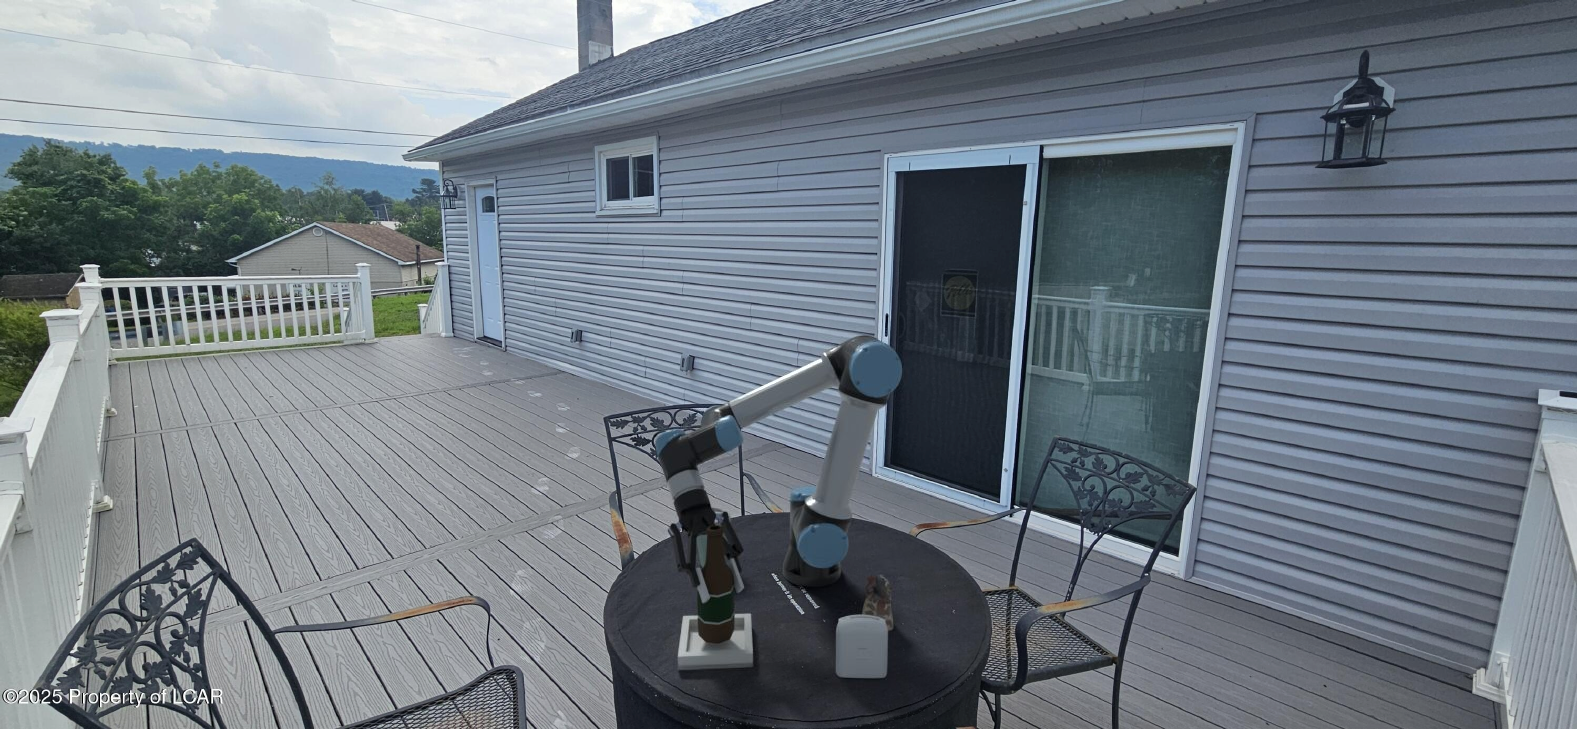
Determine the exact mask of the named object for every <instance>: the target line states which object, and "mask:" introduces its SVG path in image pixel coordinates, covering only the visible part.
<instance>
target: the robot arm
mask: <svg viewBox="0 0 1577 729" xmlns="http://www.w3.org/2000/svg"><path fill="white" fill-rule="evenodd" d="M902 376H903V367H902V361H901V359H900V357H899V355H898V354H897V352H896V351H895V350H894V348H892V346H890V345H889V344H888V343H886V342H884V341H882V340H880V339H879V338H877V337H874V336H872V335H866V334H864V335H856V336H854V337H851V338H849V339H847V340H845V341H843V342H841V343H839V344H837V345H835V346H834V347H831V348H830V349H827V350H825V351H823V352H822V354H821V357H820V358H818V359H816V360H814V361H812V362H810V363H808V364H805V365H804V366H801V367H800V368H797V369H795V370H793V371H791V372H788V373H787V374H785V375H783V376H781V377H778V378H776V379H774V380H772V381H770V382H768V383H766V384H764V385H762V386H759V387H757V388H755V389H753V390H750V391H749V392H747V393H745V394H742V395H740V396H738V397H736V398H734V399H732V400H729V401H728V402H726V403H723V404H721V405H712V406H710V407H709V408H707V409H706V410H705V411H704V413H703V414H702V416H701V420H700V428H697V429H695V430H694V431H691V432H689V433H686V432H685V431H684V430H683V429H680V428H673V429H672V430H666V431H663V432H662V433H661V434H659V435H658V436H657V438H656V439H655V442H654V446H655V450H656V453H657V459H658V462H659V464H660V467H661V469H662V472H663V474H664V475H663V476H664V478H665V481H666V484H667V488H668V491H669V494H670V496H671V500H673V505H674V509H675V511H676V515H677V517H678V522H676V523H671V524H670V525H669V527H668V528H667V532H668V535H669V536H670V538H671V542H672V545H673V552H674V556H675V562H676V568H677V571H678V572H679V573H685V574H686V575H688V577H689V579H690V582H691V585H692V587H693V588H696V589H697V588H698V591H699V594H700V597H701V600H702V603H706V602H707V601H708V600H709V598H710V596H709V593H708V590H707V587H706V584H705V581H704V578H703V575H702V572H701V570H702V569H701V567H697V566H696V565H697V537H698V536H700V535H707V534H706V530H707V528H708V527H709V526H712V525H715V524H714V522H715V519H716V520H717V521H718V523H719V524H720V525H721V527H723V529H724V534H725V536H726V538H727V540H728V542H727V540H726V539H725V538H724V537H723V545H724V555H725V556H726V560H728V561H726V564H727V565H728V567H729V568H730V569H731V571H732V574H733V577H734V590H735V591H736V594H738V593H741V592H742V590H744V589H745V586H744V583H743V580H742V577H741V573H742V572H743V571H742V567H741V564H740V561H739V557H740V556H741V555H742V554H743V553H744V551H745V550H744V548H743V545H742V543H741V541H740V540H739V539H740V538H739V537H738V535H737V532H736V531H735V530H734V528H733V526H732V523H731V524H730V522H729V516H728V513H729V511H728V512H726V511H727V510H726V511H724V512H723V513H715V512H714V511H713V510H712V508H711V506H712V504H711V502H710V501H711V500H710V498H709V495H708V492H707V491H706V490H705V485H704V482H703V479H702V476H701V474H700V470H699V469H698V468H699V467H698V466H699V465H701V464H704V463H706V462H709V461H711V460H713V459H715V458H717V457H720V456H721V455H725V454H726V453H728V452H732V451H734V450H735V449H736V448H738V447H740V446H742V444H743V443H744V440H745V439H744V436H743V432H742V430H743V429H745V428H747V427H750V426H751V425H754V424H756V423H758V422H760V421H762V420H765V419H767V418H769V417H771V416H772V415H775V414H777V413H779V412H781V411H784V410H785V409H788V408H790V407H791V406H794V405H797V404H798V403H801V402H802V401H805V400H807V399H809V398H812V397H813V396H815V395H817V394H820V393H821V392H824V391H826V390H828V389H830V388H832V387H837V392H838V394H839V395H840V397H841V401H840V405H839V408H838V412H837V414H836V417H835V418H836V419H835V422H834V425H833V428H832V432H831V435H830V439H829V443H828V445H827V449H826V452H825V455H824V458H823V462H822V465H821V468H820V472H819V475H818V476H819V477H818V480H817V482H816V485H806V486H800V487H796V488H794V489H793V490H792V491H790V496H789V498H790V499H789V501H788V502H789V545H788V549H787V551H786V553H785V554H786V555H785V557H784V561H783V564H782V575H783V577H784V579H785V580H786V581H788V582H790V583H791V584H794V585H797V586H799V587H806V588H820V587H825V586H829V585H832V584H834V583H836V582H837V581H838V580H839V579H840V578H841V576H842V574H841V573H842V572H841V569H842V567H841V562H842V561H843V560H844V559H845V557H846V555H847V553H848V550H849V543H850V542H849V537H848V532H849V528H850V524H851V522H852V518H853V511H852V510H851V508H850V507H851V506H850V502H851V499H852V496H853V492H854V490H855V485H856V483H857V480H858V476H859V474H860V471H861V470H860V469H861V467H862V463H863V460H864V457H865V454H866V450H867V448H868V444H869V440H870V437H871V435H872V434H871V433H872V432H873V431H872V430H873V428H874V424H875V421H876V418H877V414H878V412H879V410H881V409H883V408H884V407H886V406H887V405H888V402H889V398H890V394H891V393H892V392H893V391H895V389H896V388H897V387H898V386H899V384H900V382H901V379H902ZM681 530H683V531H685V532H686V533H687V541H686V542H687V552H686V553H687V554H686V553H685V550H684V545H683V540H682V539H683V538H682V534H681ZM685 554H686V555H685ZM686 557H687V558H686Z"/></svg>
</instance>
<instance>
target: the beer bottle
mask: <svg viewBox="0 0 1577 729" xmlns="http://www.w3.org/2000/svg"><path fill="white" fill-rule="evenodd" d="M723 533H724V529H723V527H721V526H719V525H712V526H709V527H708V528H707V530H706V534H707V550H706V562H705V566H704V567H703V568H702V569H701V572H702V575H703V578H704V581H705V584H706V587H707V590H708V593H709V596H710V598H709V600H708V601H707V602H706V603H702V600H701V597H700V594H699V591H698V588H697V587H696V590H697V591H696V597H697V598H696V601H697V604H696V605H697V607H696V608H697V615H698V635H699V636H700V637H701V638H702V639H703V640H704V641H705V642H707V643H716V644H719V643H722V642H724V641H727V640H730V638H731V636H732V634H733V632H734V624H735V614H736V613H735V586H734V577H733V574H732V571H731V569H730V568H729V567H728V565H727V561H726V562H725V557H724V545H723Z"/></svg>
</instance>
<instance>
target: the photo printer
mask: <svg viewBox="0 0 1577 729" xmlns="http://www.w3.org/2000/svg"><path fill="white" fill-rule="evenodd" d="M888 641H889V631H888V628H887V625H886V622H885V619H883V618H880V617H876V616H871V615H862V614H851V615H847V616H846V615H845V616H843V617H840V618H838V623H837V625H836V629H835V674H836V675H837V676H838V677H839V678H848V679H849V678H850V679H851V678H852V679H884V678H886V676H887V674H888V650H889V649H888V647H889V645H888V643H889V642H888Z"/></svg>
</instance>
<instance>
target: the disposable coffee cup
mask: <svg viewBox="0 0 1577 729" xmlns="http://www.w3.org/2000/svg"><path fill="white" fill-rule="evenodd" d="M711 508H712V510H713V511H714V512H715V513H723V512H724V511H726V512H728V516H729V522H730V524H731V525H732V516H731V513H730V512H729V511H728V510H726V509H724V508H722V507H719V506H714V505H713V506H712V505H711ZM714 524H715V525H719V526H721V525H720V524H719V523H718V521H717V520H716V519H715V522H714ZM723 537H724V538H725V539H726V540H727V538H726V536H725V534H724V533H723ZM727 542H728V540H727ZM728 543H729V542H728ZM696 548H697V551H698V557H699V563H700V565H701V568H702V569H703V567H704V566H705V562H706V550H707V535H700V536H698V537H697V543H696ZM724 557H725V562H726V563H727V557H726V556H725V555H724Z"/></svg>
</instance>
